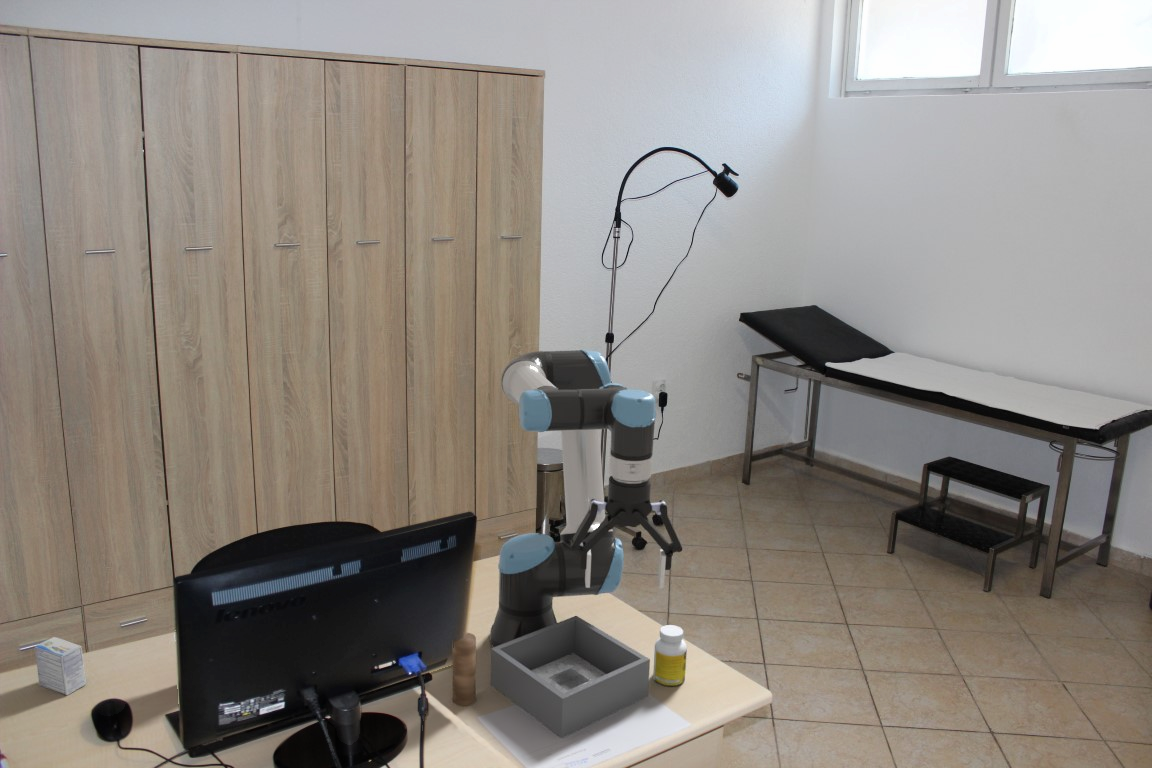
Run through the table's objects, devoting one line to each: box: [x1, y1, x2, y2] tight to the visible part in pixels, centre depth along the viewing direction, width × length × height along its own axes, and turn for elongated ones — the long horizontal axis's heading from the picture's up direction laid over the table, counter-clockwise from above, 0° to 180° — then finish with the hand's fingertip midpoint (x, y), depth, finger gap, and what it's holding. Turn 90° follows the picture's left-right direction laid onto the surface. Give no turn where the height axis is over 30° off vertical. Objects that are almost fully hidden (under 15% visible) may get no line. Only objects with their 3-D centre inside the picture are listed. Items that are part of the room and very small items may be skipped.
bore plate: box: [531, 653, 606, 693], centre depth 184 cm, size 14×14×2 cm
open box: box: [490, 615, 651, 739], centre depth 183 cm, size 22×22×9 cm
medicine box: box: [34, 636, 87, 696], centre depth 181 cm, size 8×4×9 cm, turn 65°
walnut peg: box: [452, 632, 477, 707], centre depth 178 cm, size 4×4×14 cm
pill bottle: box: [652, 624, 688, 688], centre depth 188 cm, size 6×6×12 cm
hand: (624, 584), depth 172 cm, fingers open, 13 cm apart
